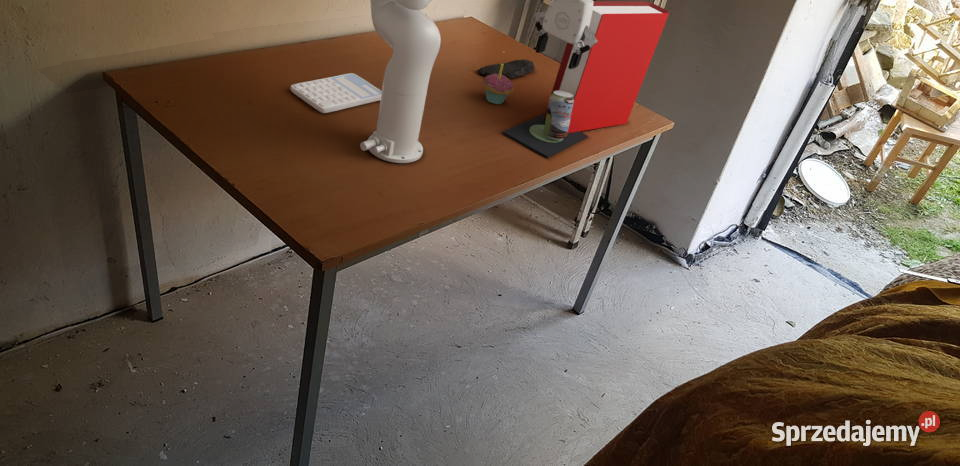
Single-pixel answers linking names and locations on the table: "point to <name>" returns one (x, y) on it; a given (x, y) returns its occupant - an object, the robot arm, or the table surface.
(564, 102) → the beverage can
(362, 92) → the calculator
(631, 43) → the book
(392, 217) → the table surface
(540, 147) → the desk mat
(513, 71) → the wood
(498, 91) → the cupcake
